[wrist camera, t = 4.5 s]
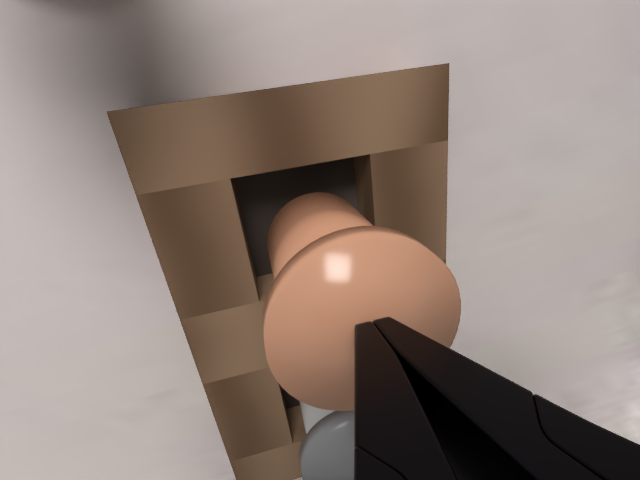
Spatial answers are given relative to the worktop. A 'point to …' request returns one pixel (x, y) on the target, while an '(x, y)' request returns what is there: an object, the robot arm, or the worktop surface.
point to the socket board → (262, 206)
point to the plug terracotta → (344, 294)
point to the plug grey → (327, 444)
